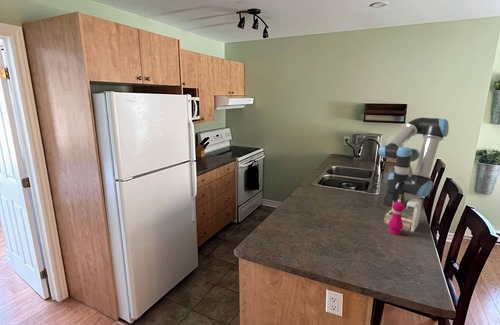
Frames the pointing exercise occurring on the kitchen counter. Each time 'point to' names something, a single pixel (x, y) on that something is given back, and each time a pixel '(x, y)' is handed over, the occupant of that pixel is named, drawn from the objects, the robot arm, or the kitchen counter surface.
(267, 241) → the kitchen counter surface
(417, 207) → the awning
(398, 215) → the pepper mill
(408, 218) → the socket block
